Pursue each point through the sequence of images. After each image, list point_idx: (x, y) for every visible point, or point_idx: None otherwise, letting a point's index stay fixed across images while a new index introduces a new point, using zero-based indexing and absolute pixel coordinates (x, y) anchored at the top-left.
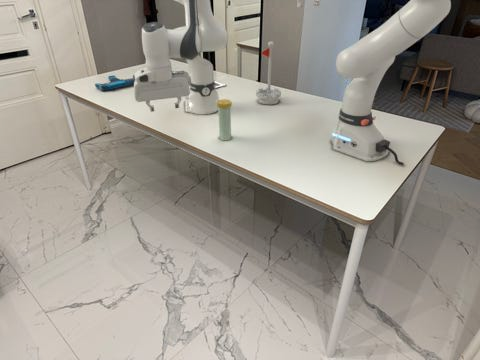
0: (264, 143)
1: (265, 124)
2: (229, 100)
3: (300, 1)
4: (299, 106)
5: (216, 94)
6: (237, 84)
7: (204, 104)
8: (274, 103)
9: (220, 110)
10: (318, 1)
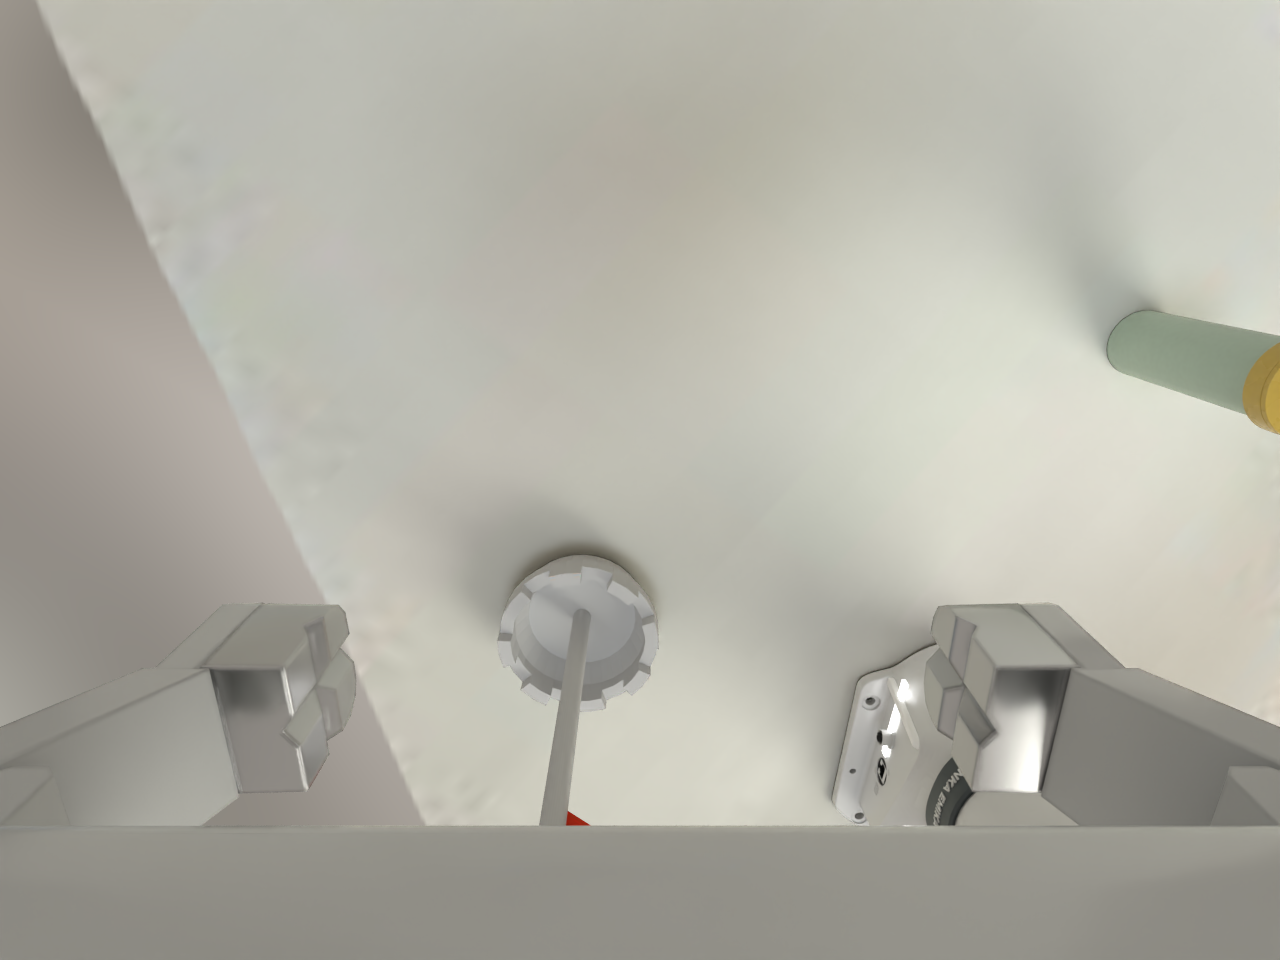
0: (1039, 146)
1: (841, 352)
2: (1274, 390)
3: (1142, 683)
4: (478, 441)
5: (931, 726)
6: None
7: None
8: (585, 555)
9: None
10: (234, 658)
